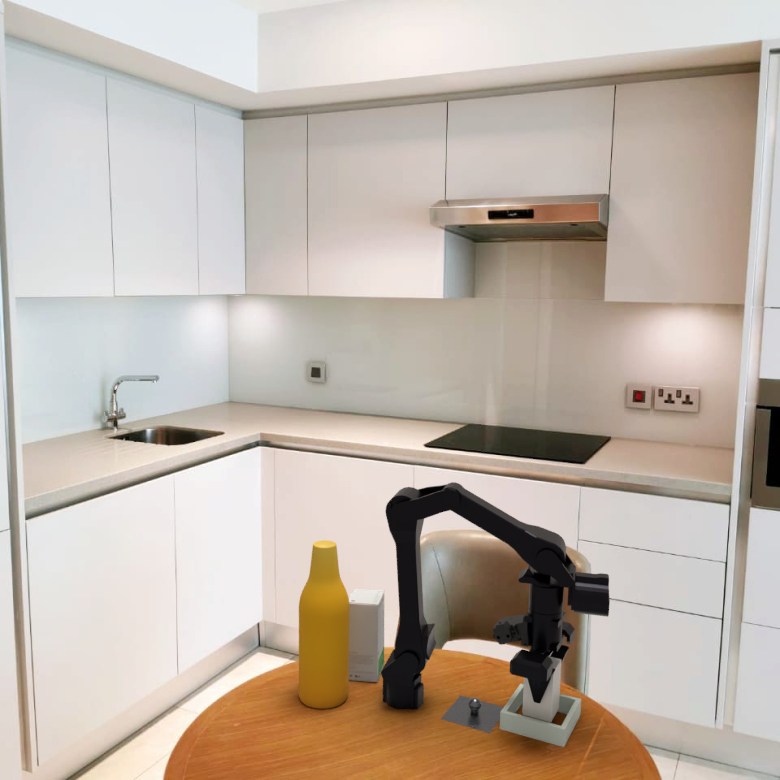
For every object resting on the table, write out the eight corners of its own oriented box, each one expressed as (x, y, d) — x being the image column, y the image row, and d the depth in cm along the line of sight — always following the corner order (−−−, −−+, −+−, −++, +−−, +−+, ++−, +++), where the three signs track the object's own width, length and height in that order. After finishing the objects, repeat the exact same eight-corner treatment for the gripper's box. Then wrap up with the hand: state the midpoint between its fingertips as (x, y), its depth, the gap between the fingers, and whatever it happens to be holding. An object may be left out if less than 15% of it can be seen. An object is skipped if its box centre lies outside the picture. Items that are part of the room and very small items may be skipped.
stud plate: (440, 724, 136) (441, 703, 135) (460, 700, 144) (460, 680, 143) (489, 738, 132) (490, 717, 131) (507, 713, 140) (508, 693, 139)
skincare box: (377, 683, 149) (379, 605, 147) (343, 680, 150) (344, 602, 148) (384, 663, 158) (386, 588, 156) (352, 660, 159) (353, 586, 157)
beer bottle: (335, 714, 138) (337, 555, 135) (289, 703, 142) (289, 548, 138) (356, 690, 147) (358, 540, 143) (312, 680, 150) (313, 533, 146)
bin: (499, 734, 133) (500, 712, 133) (519, 704, 143) (520, 683, 142) (563, 752, 128) (564, 729, 128) (580, 720, 138) (581, 698, 137)
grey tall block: (551, 722, 132) (553, 671, 131) (522, 714, 134) (524, 664, 133) (558, 708, 136) (561, 659, 135) (530, 701, 138) (533, 652, 137)
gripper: (517, 581, 145) (513, 661, 147) (481, 618, 128) (477, 708, 130) (577, 593, 140) (573, 676, 142) (548, 633, 123) (543, 726, 125)
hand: (541, 695), depth 135 cm, fingers closed on grey tall block, 5 cm apart
